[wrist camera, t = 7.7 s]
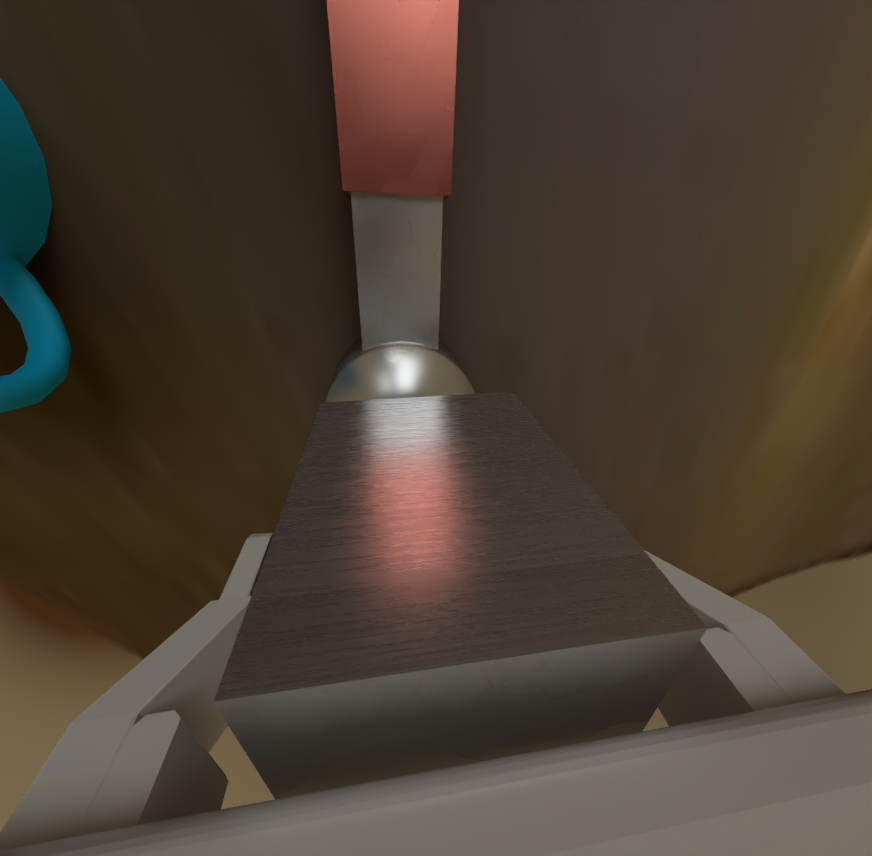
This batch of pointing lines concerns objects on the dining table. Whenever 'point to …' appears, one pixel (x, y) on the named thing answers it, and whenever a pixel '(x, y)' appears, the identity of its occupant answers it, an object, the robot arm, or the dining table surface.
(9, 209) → the mug
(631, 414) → the dining table surface
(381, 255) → the ratchet
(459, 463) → the brushed steel block
